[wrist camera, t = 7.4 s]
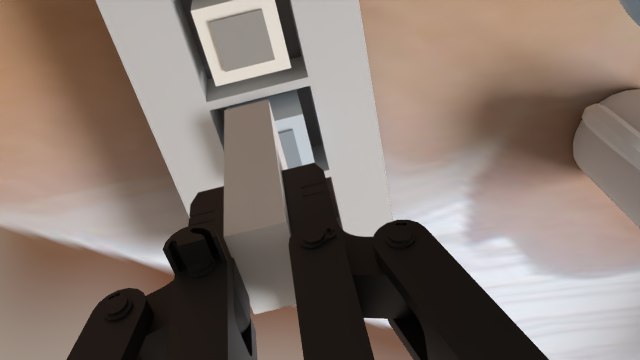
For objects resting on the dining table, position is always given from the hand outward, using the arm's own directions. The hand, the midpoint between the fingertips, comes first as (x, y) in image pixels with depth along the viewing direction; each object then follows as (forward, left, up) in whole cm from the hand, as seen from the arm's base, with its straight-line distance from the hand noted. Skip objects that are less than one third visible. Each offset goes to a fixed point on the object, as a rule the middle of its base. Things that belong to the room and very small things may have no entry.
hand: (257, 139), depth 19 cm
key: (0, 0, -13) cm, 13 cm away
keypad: (+6, 0, -15) cm, 17 cm away
